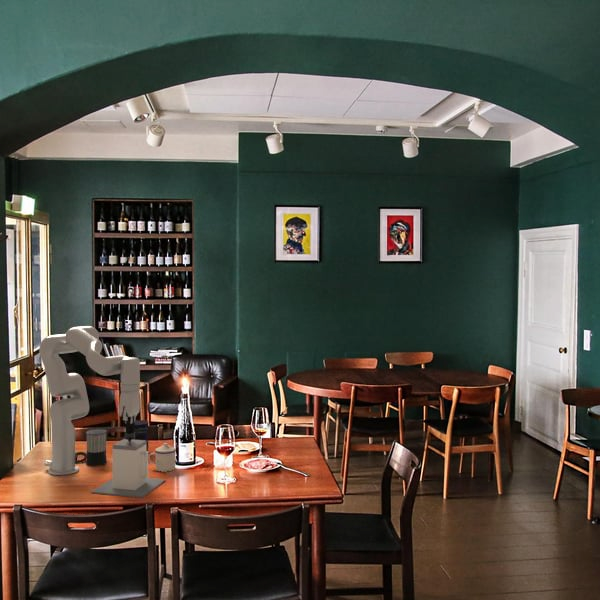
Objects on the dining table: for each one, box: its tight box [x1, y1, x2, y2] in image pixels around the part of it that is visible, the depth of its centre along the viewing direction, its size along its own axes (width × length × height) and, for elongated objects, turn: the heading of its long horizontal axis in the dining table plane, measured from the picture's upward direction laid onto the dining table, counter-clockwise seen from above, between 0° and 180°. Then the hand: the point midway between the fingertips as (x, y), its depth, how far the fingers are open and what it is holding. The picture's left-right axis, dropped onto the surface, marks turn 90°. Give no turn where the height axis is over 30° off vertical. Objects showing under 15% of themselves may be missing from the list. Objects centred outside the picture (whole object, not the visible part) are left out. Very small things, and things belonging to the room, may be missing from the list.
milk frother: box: [75, 428, 108, 467], centre depth 301 cm, size 14×16×15 cm
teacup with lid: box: [148, 442, 177, 473], centre depth 293 cm, size 12×9×12 cm
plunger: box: [124, 431, 135, 443], centre depth 268 cm, size 4×4×18 cm
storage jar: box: [133, 419, 149, 452], centre depth 319 cm, size 10×10×15 cm
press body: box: [111, 438, 149, 490], centre depth 268 cm, size 13×10×18 cm
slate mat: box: [90, 477, 166, 499], centre depth 268 cm, size 22×22×1 cm
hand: (130, 432), depth 267 cm, fingers closed
